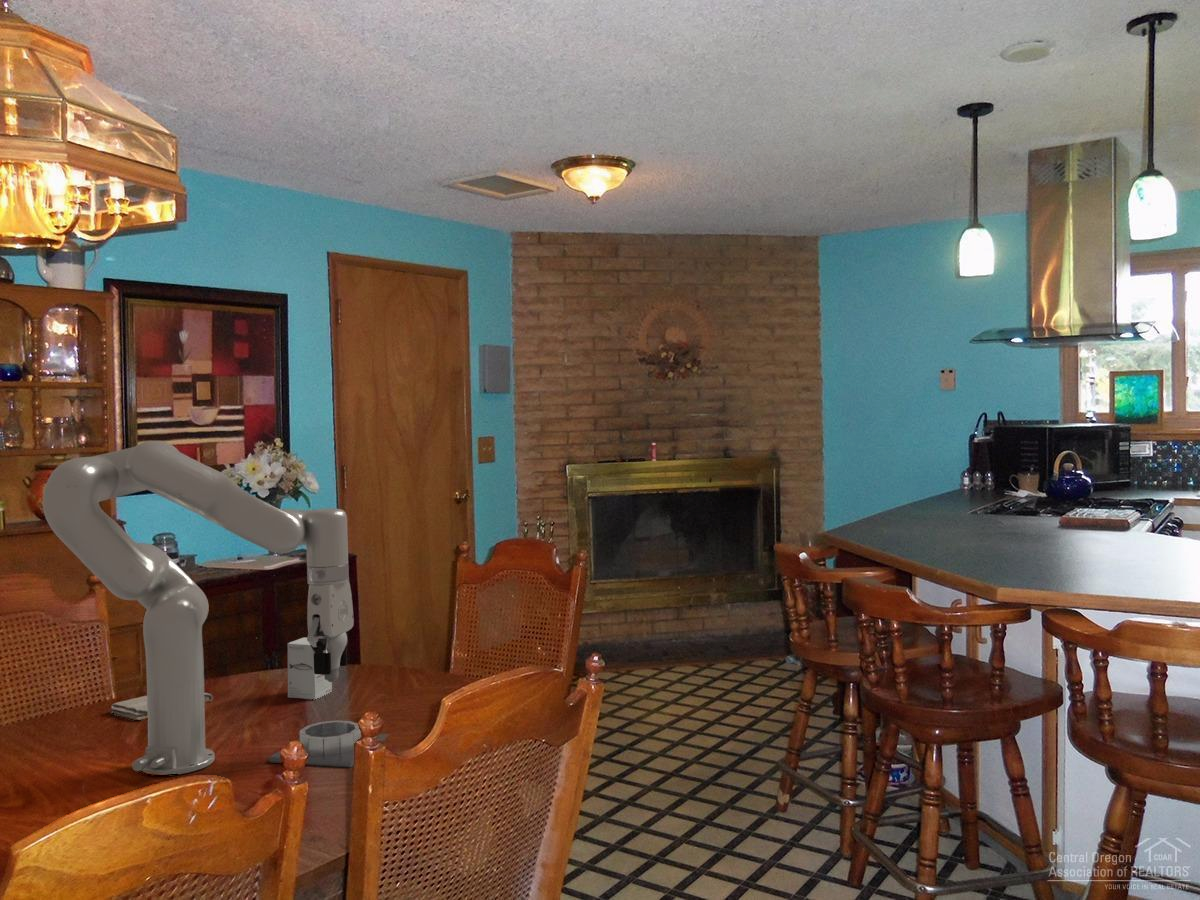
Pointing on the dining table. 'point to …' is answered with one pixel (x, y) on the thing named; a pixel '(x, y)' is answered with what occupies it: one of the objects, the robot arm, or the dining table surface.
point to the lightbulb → (335, 654)
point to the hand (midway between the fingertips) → (331, 668)
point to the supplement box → (304, 672)
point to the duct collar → (329, 743)
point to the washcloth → (138, 707)
